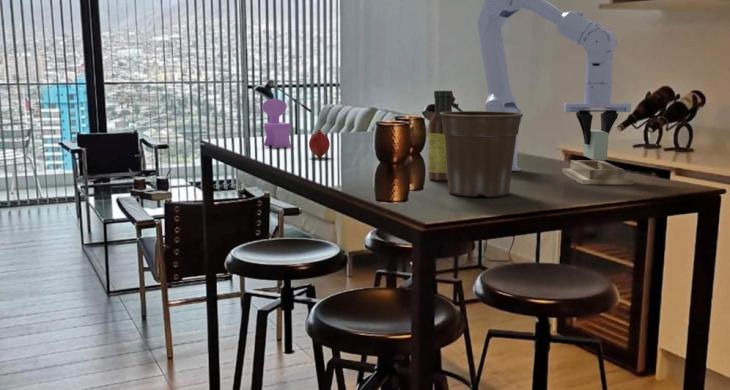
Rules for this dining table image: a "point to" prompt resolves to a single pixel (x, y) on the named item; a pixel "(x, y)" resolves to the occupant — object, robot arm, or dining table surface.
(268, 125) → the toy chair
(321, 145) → the onion
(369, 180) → the dining table surface
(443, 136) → the sauce bottle
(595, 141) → the pale teal block
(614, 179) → the beige rectangular tray
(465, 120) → the plant pot
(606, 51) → the robot arm
